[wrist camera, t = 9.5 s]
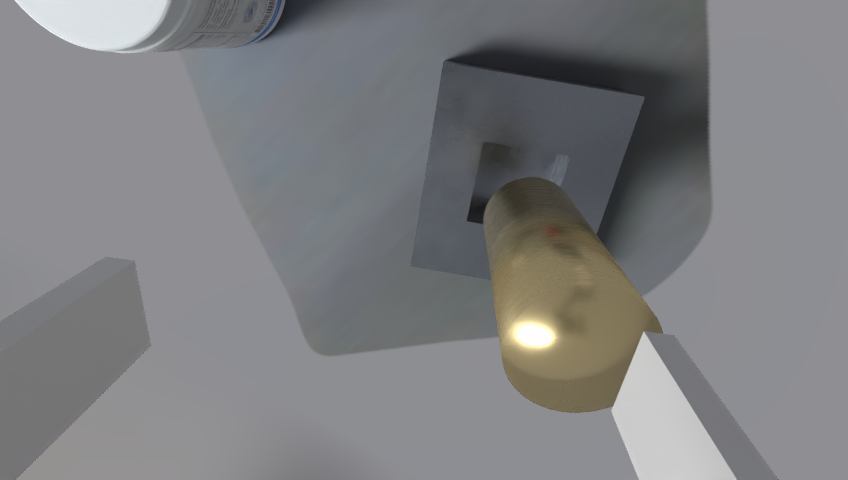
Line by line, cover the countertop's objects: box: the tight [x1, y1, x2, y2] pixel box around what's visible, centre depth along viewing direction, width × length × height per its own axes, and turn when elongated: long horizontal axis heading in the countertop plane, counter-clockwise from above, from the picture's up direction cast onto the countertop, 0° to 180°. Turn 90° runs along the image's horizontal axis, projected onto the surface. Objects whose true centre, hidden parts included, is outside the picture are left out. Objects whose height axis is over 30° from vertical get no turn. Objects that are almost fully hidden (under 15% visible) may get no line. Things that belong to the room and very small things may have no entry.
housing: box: [411, 60, 645, 280], centre depth 35 cm, size 16×14×4 cm
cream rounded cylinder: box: [483, 177, 663, 413], centre depth 21 cm, size 6×6×13 cm
